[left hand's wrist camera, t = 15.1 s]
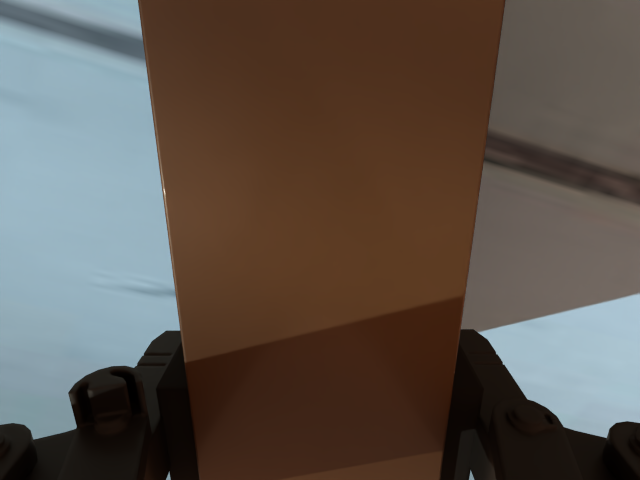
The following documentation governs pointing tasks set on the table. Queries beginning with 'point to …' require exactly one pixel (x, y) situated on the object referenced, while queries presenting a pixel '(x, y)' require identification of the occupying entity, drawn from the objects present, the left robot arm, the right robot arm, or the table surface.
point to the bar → (320, 223)
